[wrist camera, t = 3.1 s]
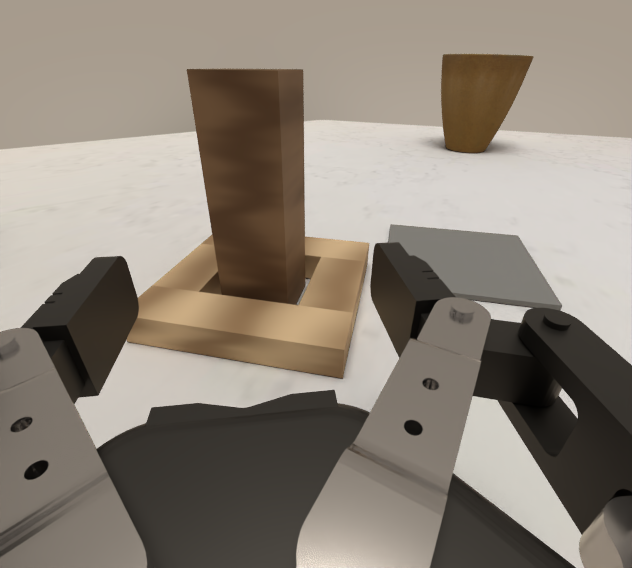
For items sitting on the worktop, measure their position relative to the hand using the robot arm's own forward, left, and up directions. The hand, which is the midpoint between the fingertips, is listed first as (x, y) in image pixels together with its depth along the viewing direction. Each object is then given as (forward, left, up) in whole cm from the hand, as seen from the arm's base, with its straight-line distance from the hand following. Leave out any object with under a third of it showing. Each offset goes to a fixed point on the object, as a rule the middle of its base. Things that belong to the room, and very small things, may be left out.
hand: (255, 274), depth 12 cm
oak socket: (-4, +11, -8) cm, 14 cm away
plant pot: (+17, +71, -8) cm, 73 cm away
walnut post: (-4, +11, -8) cm, 14 cm away
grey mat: (+10, +20, -8) cm, 23 cm away
